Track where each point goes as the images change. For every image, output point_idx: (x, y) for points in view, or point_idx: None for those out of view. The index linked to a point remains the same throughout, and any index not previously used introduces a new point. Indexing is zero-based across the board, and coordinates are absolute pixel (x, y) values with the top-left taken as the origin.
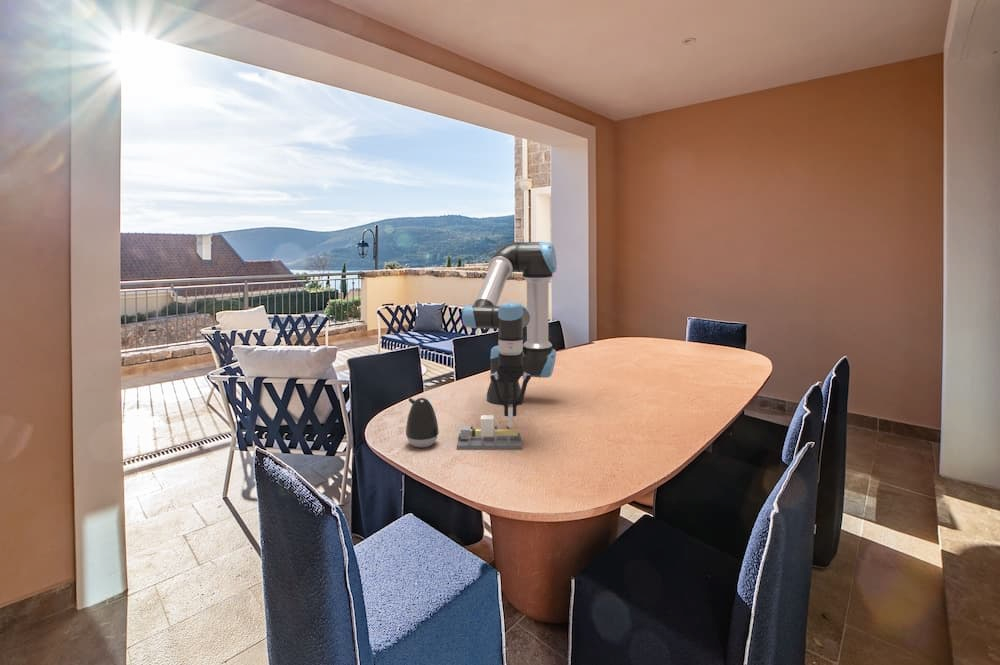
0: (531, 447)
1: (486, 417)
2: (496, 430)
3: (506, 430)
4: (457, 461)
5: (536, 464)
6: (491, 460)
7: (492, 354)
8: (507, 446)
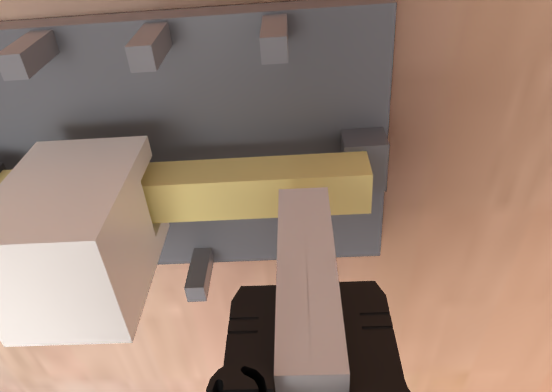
0: (449, 206)
1: (42, 307)
2: (178, 210)
3: (268, 206)
4: (50, 366)
5: (431, 377)
6: (211, 354)
7: None
8: None
